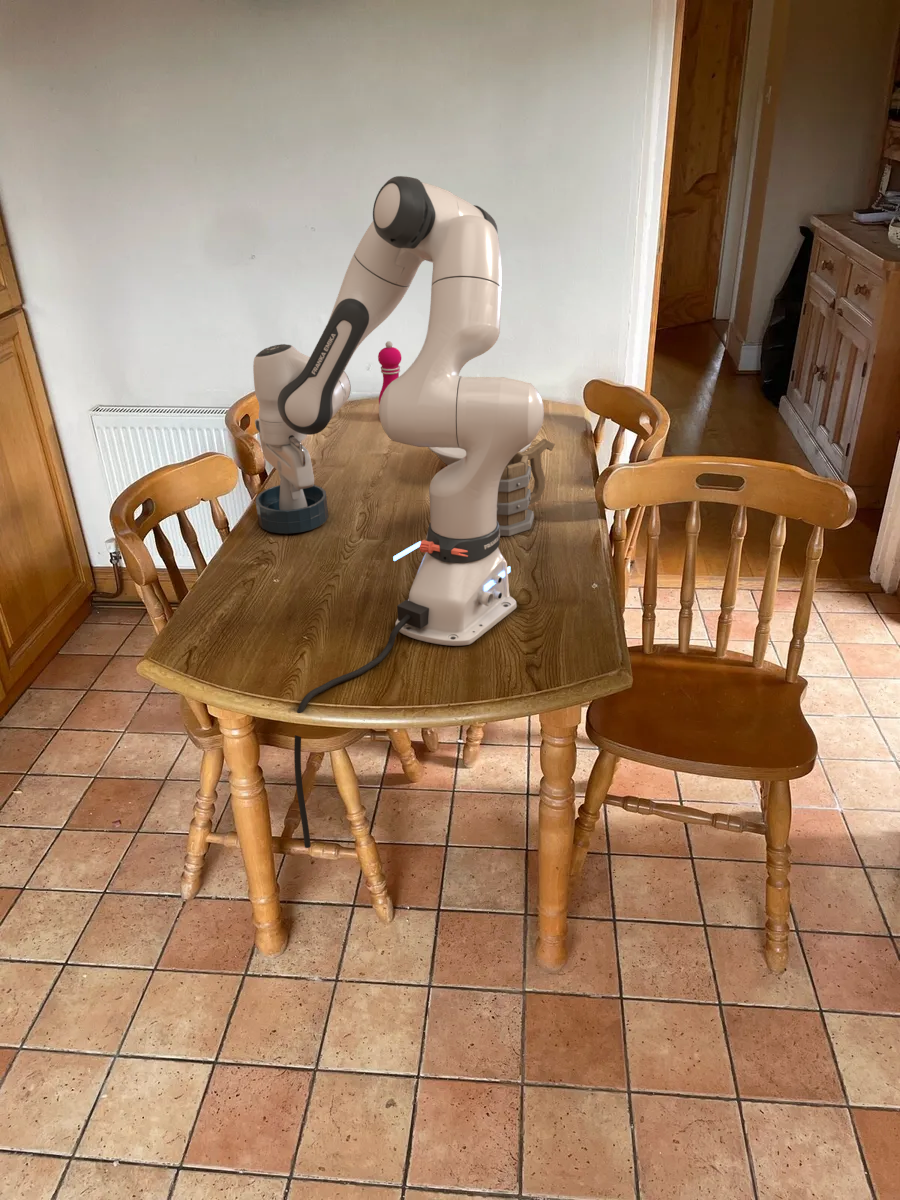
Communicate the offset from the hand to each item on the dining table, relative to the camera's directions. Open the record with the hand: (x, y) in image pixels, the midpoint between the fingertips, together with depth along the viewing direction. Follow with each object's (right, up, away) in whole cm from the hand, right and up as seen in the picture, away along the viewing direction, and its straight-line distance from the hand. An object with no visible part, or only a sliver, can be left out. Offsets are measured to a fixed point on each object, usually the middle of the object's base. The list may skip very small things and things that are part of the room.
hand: (291, 494), depth 188 cm
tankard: (+46, -5, +1) cm, 46 cm away
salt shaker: (0, -5, +3) cm, 5 cm away
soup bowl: (+39, +9, +26) cm, 48 cm away
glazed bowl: (0, -5, +3) cm, 6 cm away
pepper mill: (+17, +36, +52) cm, 66 cm away
